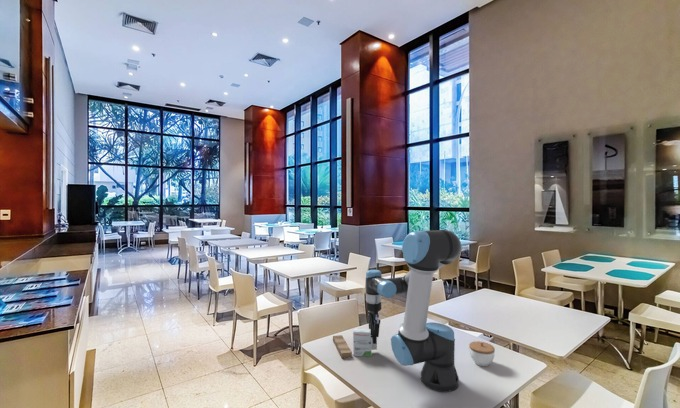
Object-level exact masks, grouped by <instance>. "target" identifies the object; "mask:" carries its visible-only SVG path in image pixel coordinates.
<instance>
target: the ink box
mask: <svg viewBox="0 0 680 408" xmlns="http://www.w3.org/2000/svg"><path fill="white" fill-rule="evenodd" d="M352 334H353V337H352V338H353V339H352V341H353V343H352V346H353V348H352V349H353V356H354V357H370V358H372V350H371V329H369V328H353V332H352Z"/></svg>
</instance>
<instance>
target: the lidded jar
mask: <svg viewBox="0 0 680 408" xmlns="http://www.w3.org/2000/svg"><path fill="white" fill-rule="evenodd" d="M468 346H469V355H470V358H471V359H472V361H473V362H474V363H475V364H476V365H477V366H480V367H488V366H490V364H492V363H493V361H494V359H495V351H496V349H495V347H494V346H493V345H492V344H491V343H488V342H485V341H480V340H479V341H476V340H475V341H471V342H470V343H469V344H468Z"/></svg>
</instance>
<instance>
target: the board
mask: <svg viewBox="0 0 680 408" xmlns="http://www.w3.org/2000/svg"><path fill="white" fill-rule="evenodd" d="M332 342H333V344H334V346H335V348H336V351H337V353H338V354H339V357H340V358H341V359H343V360H344V359H350V358H352V357H353V353H352V350H351V348H350V347H349V345H348V343H347V341H346V340H345V338H344V337H343V335H342V334H341V335H339V334H338V335H333V336H332Z"/></svg>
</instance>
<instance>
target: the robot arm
mask: <svg viewBox="0 0 680 408" xmlns="http://www.w3.org/2000/svg"><path fill="white" fill-rule="evenodd" d="M461 251H462V243H461V240H460V238H459V236H457V234H455V233H454V232H453V231H450V230H446V229H438V230H437V229H436V230H417V231H411V232H409V233H408V234H407V235H406V236H405V238H404V239H403V241H402V246H401V252H402V257H403V259H404V261H405V262H406V265H407V266H408V268H409V269H410V270H409V271H408V272H407V273H406V274H405V275H403V276H399V277H398V276H397V277H390V278H384V277H382V272H381V270H380V269H379V270H378V269H369V270H366V272H365V301H366V302H365V309H366V310H367V320H368V329H371V351H374V350H377V349H378V338H379V335H380V325H381V319H379V316H380V315H379V312H380V311H381V310H382V298H383V297H384V298H385V299H391V298H393V297H395V295H401V294H406V299H405V301H406V302H405V309H404V316H403V323H400V324H399V326H398V332H397V333H395V334H393V335H392V336H391V339H390V345H391V349H392V353H393V356H394V357H395V359H396V360H397V362H398V363H399V364H400V365H402V366H404V367H407V366H414V365H416V364H422V363H423V366H422V369H421V372H420V381H421V383H422V385H424V386H425V387H426V388H429V389H430V390H432V391H433V390H434V391H436V392H441V393H443V392H445V393H449V392H454V391H456V390H457V389H458V388H459V386H460V378H459V375H458V372H457V369H456V368H457V367H456V366H455V350H456V347H455V345H456V344H455V341H456V338H455V331H454V330H453V329H452V327H450V326H448V325H446V324H442V323H440V322H439V323H438V322H428V313H429V306H430V300H431V292H432V286H433V279H434V274H435V273H436V272H438V271H439V270H440V269H441V268H443V267H444V266H447V265H448V266H449V265H451V263H453V262H455V260H457V258H459V256H460V254H461Z"/></svg>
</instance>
